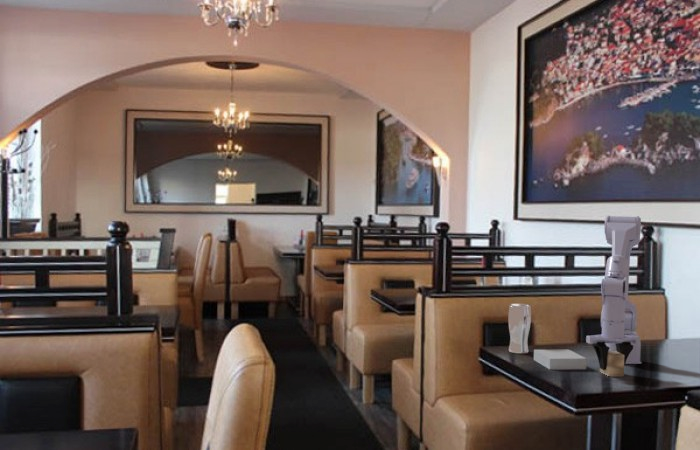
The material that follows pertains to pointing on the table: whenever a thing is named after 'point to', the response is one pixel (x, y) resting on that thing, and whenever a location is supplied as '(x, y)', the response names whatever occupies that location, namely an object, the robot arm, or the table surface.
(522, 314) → the beer glass
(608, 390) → the table surface
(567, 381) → the table surface
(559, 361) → the ceramic box
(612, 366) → the beech block
